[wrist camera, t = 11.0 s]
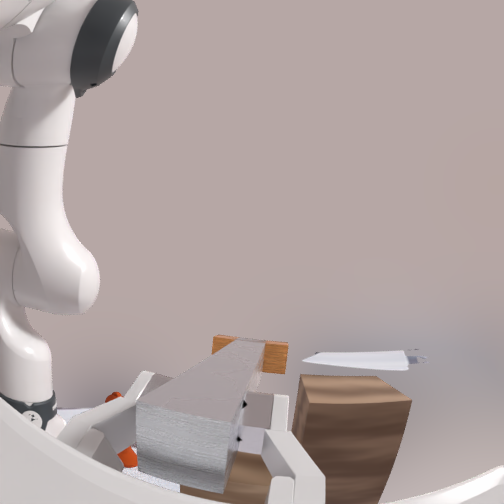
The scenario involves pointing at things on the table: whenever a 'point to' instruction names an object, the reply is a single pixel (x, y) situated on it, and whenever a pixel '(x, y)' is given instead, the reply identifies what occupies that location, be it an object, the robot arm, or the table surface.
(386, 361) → the table surface
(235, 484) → the stepped wooden block
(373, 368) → the table surface
